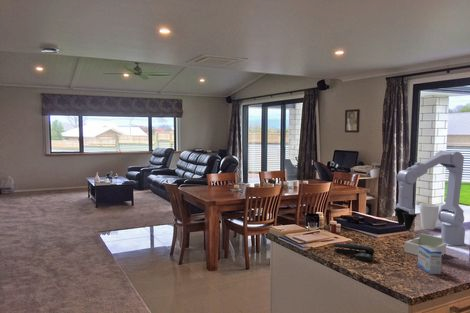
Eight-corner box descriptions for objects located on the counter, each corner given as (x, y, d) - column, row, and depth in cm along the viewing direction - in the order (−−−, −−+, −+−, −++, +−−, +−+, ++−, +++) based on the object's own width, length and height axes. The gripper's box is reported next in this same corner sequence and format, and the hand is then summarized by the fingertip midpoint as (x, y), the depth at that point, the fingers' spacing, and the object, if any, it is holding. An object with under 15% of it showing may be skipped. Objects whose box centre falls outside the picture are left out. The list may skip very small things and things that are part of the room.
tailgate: (421, 243, 165) (421, 233, 165) (442, 249, 158) (443, 238, 157) (419, 244, 164) (419, 233, 164) (441, 249, 157) (441, 238, 156)
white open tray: (417, 246, 166) (418, 237, 166) (445, 254, 157) (446, 243, 156) (404, 251, 159) (404, 241, 159) (432, 259, 150) (433, 249, 149)
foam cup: (438, 227, 201) (439, 204, 200) (437, 231, 194) (438, 207, 193) (419, 225, 206) (420, 202, 206) (417, 228, 199) (418, 205, 198)
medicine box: (417, 266, 142) (418, 244, 141) (428, 266, 142) (429, 244, 141) (429, 274, 134) (430, 251, 133) (441, 274, 134) (442, 251, 134)
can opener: (377, 259, 150) (377, 246, 149) (369, 263, 145) (370, 249, 144) (337, 249, 162) (338, 237, 162) (329, 253, 157) (330, 240, 157)
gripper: (390, 193, 171) (389, 222, 172) (403, 199, 156) (401, 230, 157) (405, 194, 170) (404, 222, 171) (419, 199, 156) (418, 230, 157)
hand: (404, 226), depth 164 cm, fingers open, 7 cm apart
